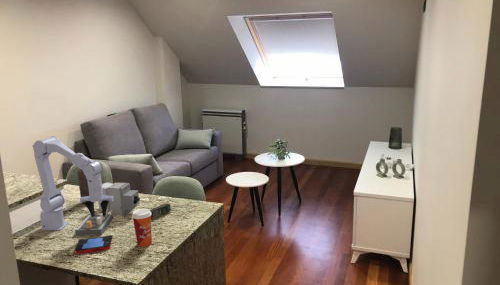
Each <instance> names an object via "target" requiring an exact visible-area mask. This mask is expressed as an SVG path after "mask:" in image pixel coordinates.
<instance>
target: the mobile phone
mask: <svg viewBox="0 0 500 285" xmlns="http://www.w3.org/2000/svg"><path fill="white" fill-rule="evenodd" d="M149 210H150V212H151V213H152V214H151V221H153V220H155V219H158V218H159V217H162V216H165V215H167V214H168V213H170V212H171V210H172V208H171V204H170V203H163V204H161V205H158V206H157V207H153V208H151V209H149Z"/></svg>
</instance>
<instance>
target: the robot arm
mask: <svg viewBox="0 0 500 285" xmlns="http://www.w3.org/2000/svg"><path fill="white" fill-rule="evenodd" d="M32 150H33V156H34V161H35V164H36V167H37V171H38V175H39V180H40V183H41V186H42V190H43V192H42V194H41V195H40V197H39V200H40V203H39V204H40V208H41V212H40V216H39V218H40V219H39V220H40V226H41V231H61V230H63V229H64V228H65V226H67V224H68V221H65V219H64V212H63V211H64V210H63V208H64V205H65V203H66V199H65V196H64V195H63V194H62V191H61V190H60V189H58V188H57V186H56V182H55V179H54V175H53V170H52V168H51V167H52V166H51V163H50V159H49V157H50V156H51V154H53V153H57V154H59V155H62V156H63V157H65V158H67V159H69V160H70V161H71V164H73V166H75V167H77V169H79V168H80V169H82V170H83V173H84V174H85V176H86V179H87V180H88V188H89V196H86V197H81V196H80V198H79V202H80V203H82V202H86V203H84V206H85V207H86V209H87V210H88V212H89V214H90V215H91V216H92V217H94V216H95V215H96V211H95V203H97V202H98V201H102V202H101V204H100V205H101V208H102V209H101V213H102V214H103V217H105V216H106V209H107V206H108V203H109V201H110V202H112V201H113V200H114V198H113V196H106V195H103V191H102V184H103V182H102V175H101V172H102V171H103V167H104V166H103V165H102V163H101V162H100V161H99V160H97V159H95V160H93V159H91V158H89V157H87V156H85V155H84V153H82V152H81V153H80V152H77V153H76V152H75V151H73V150H72V149H71V148H70V147H68V146H66V144H64V143H63V142H62V140H61V139H60V138H58V137H57V136H55V135H52V136H49V137H45V138H43V139H38V140H36V141H35V142H34V143H33V144H32Z"/></svg>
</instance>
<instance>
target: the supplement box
mask: <svg viewBox="0 0 500 285" xmlns="http://www.w3.org/2000/svg"><path fill="white" fill-rule="evenodd" d="M113 184H114V183H112V182H108V181H107V182H104V183H102V191H103V195H106V196H108V187H110V186H111V185H113ZM109 194H110V193H109ZM101 202H102V201H97V203H98V208H99V210H102V208H101V205H100V204H101ZM110 206H111V202H110V201H109V203H108V206H107V209H108V212H110Z"/></svg>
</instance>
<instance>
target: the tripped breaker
mask: <svg viewBox="0 0 500 285" xmlns="http://www.w3.org/2000/svg"><path fill="white" fill-rule="evenodd" d="M86 225H87V229H88V228H91V227H92V222H91V221H87V222H86Z"/></svg>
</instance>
